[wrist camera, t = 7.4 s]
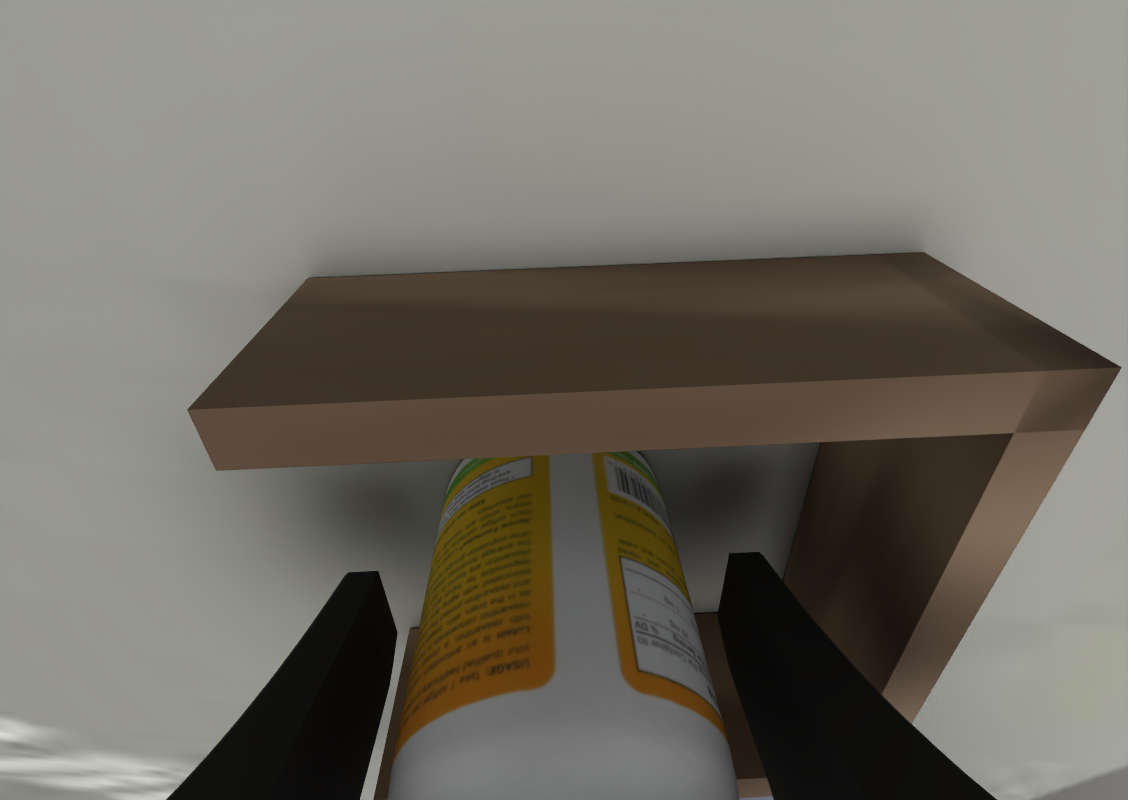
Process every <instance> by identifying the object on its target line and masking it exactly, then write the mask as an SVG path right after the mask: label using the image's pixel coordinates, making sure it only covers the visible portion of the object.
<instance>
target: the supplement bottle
mask: <svg viewBox="0 0 1128 800" xmlns="http://www.w3.org/2000/svg"><path fill="white" fill-rule="evenodd" d="M387 800H739V792H738V785H737V779H736V775H735V770H734V765H733V761H732V756H731V752H730V747H729V743H728V740H727V736H726V732H725V729H724V724H723V720H722V717H721V713H720V710H719V707H718V703H717V699H716V695H715V691H714V688H713V684H712V680H711V677H710V673H709V669H708V666H707V662H706V658H705V654H704V650H703V646H702V643H701V639H700V635H699V631H698V627H697V624H696V620H695V616H694V612H693V608H692V604H691V601H690V597H689V593H688V589H687V586H686V582H685V578H684V574H683V571H682V567H681V563H680V560H679V556H678V552H677V549H676V545H675V541H674V537H673V534H672V530H671V526H670V522H669V519H668V515H667V511H666V508H665V504H664V501H663V497H662V494H661V491H660V489H659V485H658V482H657V480H656V478H655V476H654V474H653V472H652V470H651V468H650V467H649V465H648V464H647V462H646V461H645V459H644V458H643V457H642V456H641V455H640V454H639V453H638V452H637V451H622V452H601V453H579V454H558V455H537V456H516V457H494V458H473V459H464V460H463V461H462V462H461V464H460V465H459V466H458V468H457V470H456V471H455V473H454V475H453V477H452V479H451V481H450V483H449V486H448V489H447V492H446V497H445V501H444V504H443V508H442V513H441V518H440V523H439V528H438V533H437V539H436V544H435V549H434V554H433V559H432V565H431V570H430V575H429V580H428V585H427V590H426V595H425V600H424V605H423V610H422V615H421V621H420V626H419V631H418V636H417V641H416V646H415V651H414V655H413V661H412V665H411V670H410V674H409V678H408V684H407V689H406V694H405V698H404V704H403V709H402V713H401V721H400V726H399V731H398V736H397V740H396V745H395V751H394V757H393V762H392V768H391V779H390V785H389V791H388V798H387Z"/></svg>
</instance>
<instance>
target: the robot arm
mask: <svg viewBox="0 0 1128 800" xmlns="http://www.w3.org/2000/svg"><path fill="white" fill-rule="evenodd" d="M718 621H719V625H720V630H721V635H722V639H723V644H724V648H725V652H726V657H727V661H728V665H729V669H730V672H731V675H732V678H733V681H734V684H735V687H736V689H737V692H738V695H739V698H740V701H741V704H742V707H743V710H744V713H745V716H746V719H747V722H748V725H749V728H750V730H751V733H752V736H753V739H754V742H755V745H756V748H757V751H758V754H759V757H760V759H761V762H762V765H763V768H764V771H765V774H766V777H767V780H768V783H769V786H770V789H771V793H772V796H769V797H751V798H739V800H997V799H996V798H994V797H993V796H992V795H991V794H990V793H988V792H987V791H986V790H985V789H984V788H982V787H981V786H980V785H979V784H977V783H976V782H975V781H974V780H973V779H971V778H970V777H969V776H968V775H967V774H966V773H964V772H963V771H962V770H961V769H960V768H959V767H958V766H957V765H955V764H954V763H953V762H952V761H951V760H950V759H949V758H948V757H947V756H945V755H944V754H943V753H942V752H941V751H940V750H939V749H938V748H937V747H935V746H934V745H933V744H932V743H931V742H930V741H929V740H928V739H927V738H926V737H925V736H924V735H923V734H922V733H920V732H919V731H918V730H917V729H916V728H915V727H914V726H913V725H912V724H911V723H910V722H909V721H908V720H907V719H906V718H905V717H904V716H903V715H902V714H901V713H900V712H899V711H898V710H897V709H896V708H894V707H893V706H892V704H891V703H890V702H889V701H888V700H887V699H886V698H885V697H884V696H883V695H882V694H881V693H880V692H879V691H878V690H877V689H876V688H875V687H874V686H873V685H872V684H871V683H870V682H869V681H868V680H867V679H866V678H865V677H864V675H863V674H862V673H861V672H860V671H859V670H858V669H857V668H856V667H855V666H854V665H853V664H852V663H851V661H850V660H849V659H848V658H847V657H846V656H845V655H844V654H843V653H842V652H841V650H840V649H839V648H838V647H837V646H836V645H835V643H834V642H833V641H832V640H831V639H830V638H829V637H828V635H827V634H826V633H825V632H824V631H823V630H822V629H821V627H820V626H819V625H818V624H817V623H816V622H815V620H814V619H813V618H812V617H811V616H810V614H809V613H808V612H807V611H806V610H805V608H804V607H803V606H802V605H801V603H800V602H799V601H798V600H797V598H796V597H795V596H794V595H793V594H792V592H791V591H790V590H789V588H788V587H787V586H786V585H785V583H784V582H783V581H782V580H781V578H780V577H779V576H778V574H777V573H776V572H775V571H774V569H773V568H772V567H771V565H770V564H769V563H768V561H767V560H766V559H765V558H764V556H763V555H762V554H761V553H760V552H748V553H729V558H728V563H727V569H726V574H725V579H724V584H723V590H722V595H721V600H720V605H719V611H718ZM396 640H397V629H396V626H395V623H394V620H393V617H392V613H391V610H390V607H389V604H388V601H387V597H386V594H385V591H384V588H383V585H382V581H381V578H380V575H379V572H378V571H368V572H349V573H347V574H346V575H345V576H344V578H343V579H342V580H341V582H340V583H339V585H338V586H337V588H336V589H335V591H334V592H333V594H332V595H331V597H330V598H329V600H328V601H327V603H326V604H325V605H324V607H323V608H322V610H321V611H320V613H319V614H318V616H317V617H316V618H315V620H314V621H313V623H312V624H311V626H310V627H309V628H308V630H307V631H306V633H305V634H304V635H303V637H302V638H301V640H300V641H299V642H298V644H297V645H296V646H295V648H294V649H293V650H292V652H291V653H290V654H289V656H288V657H287V658H286V660H285V661H284V662H283V664H282V665H281V666H280V668H279V669H278V670H277V672H276V673H275V674H274V676H273V677H272V678H271V680H270V681H269V682H268V683H267V685H266V686H265V687H264V688H263V690H262V691H261V692H260V693H259V695H258V696H257V697H256V698H255V700H254V701H253V702H252V703H251V705H250V706H249V707H248V708H247V709H246V711H245V712H244V713H243V714H242V716H241V717H240V718H239V719H238V721H237V722H236V723H235V724H234V725H233V727H232V728H231V729H230V730H229V731H228V732H227V734H226V735H225V736H224V737H223V738H222V739H221V741H220V742H219V743H218V744H217V745H216V746H215V747H214V749H213V750H212V751H211V752H210V753H209V754H208V755H207V757H206V758H205V759H204V760H203V761H202V762H201V763H200V764H199V765H198V766H197V767H196V769H195V770H194V771H193V772H192V773H191V774H190V775H189V776H188V777H187V778H186V780H185V781H184V782H183V783H182V784H181V785H180V786H179V787H178V788H177V789H176V790H175V791H174V792H173V793H172V794H171V795H170V796H169V797H168V798H167V799H166V800H360V796H361V793H362V789H363V785H364V781H365V778H366V774H367V770H368V766H369V762H370V759H371V755H372V751H373V747H374V744H375V740H376V736H377V732H378V728H379V725H380V721H381V717H382V713H383V709H384V705H385V702H386V698H387V694H388V690H389V686H390V680H391V674H392V668H393V661H394V654H395V647H396Z"/></svg>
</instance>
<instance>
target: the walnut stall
mask: <svg viewBox="0 0 1128 800" xmlns="http://www.w3.org/2000/svg"><path fill="white" fill-rule="evenodd" d="M1121 368H1122V367H1120V366H1118V365H1116V364H1115V363H1113V362H1111V361H1110V360H1108V359H1106V358H1104V357H1103V356H1101V355H1099V354H1098V353H1096V352H1094V351H1092V350H1091V349H1089V348H1087V347H1086V346H1084V345H1082V344H1080V343H1079V342H1077V341H1075V340H1073V339H1072V338H1070V337H1068V336H1067V335H1065V334H1063V333H1061V332H1060V331H1058V330H1056V329H1055V328H1053V327H1051V326H1049V325H1048V324H1046V323H1044V322H1043V321H1041V320H1039V319H1037V318H1036V317H1034V316H1032V315H1031V314H1029V313H1027V312H1025V311H1024V310H1022V309H1020V308H1019V307H1017V306H1015V305H1013V304H1012V303H1010V302H1008V301H1006V300H1005V299H1003V298H1001V297H1000V296H998V295H996V294H994V293H993V292H991V291H989V290H988V289H986V288H984V287H982V286H981V285H979V284H977V283H976V282H974V281H972V280H970V279H969V278H967V277H965V276H964V275H962V274H960V273H958V272H957V271H955V270H953V269H952V268H950V267H948V266H946V265H945V264H943V263H941V262H939V261H938V260H936V259H934V258H933V257H931V256H929V255H927V254H926V253H902V254H878V255H854V256H831V257H807V258H783V259H759V260H735V261H711V262H687V263H663V264H639V265H615V266H591V267H567V268H543V269H519V270H495V271H471V272H447V273H423V274H400V275H376V276H352V277H328V278H308V279H307V280H306V281H305V282H304V283H303V284H302V285H301V286H300V287H299V289H298V290H297V291H296V292H295V293H294V294H293V295H292V296H291V297H290V298H289V299H288V301H287V302H286V303H285V304H284V305H283V306H282V307H281V308H280V309H279V310H278V311H277V313H276V314H275V315H274V316H273V317H272V318H271V319H270V320H269V321H268V322H267V323H266V325H265V326H264V327H263V328H262V329H261V330H260V331H259V332H258V333H257V334H256V335H255V337H254V338H253V339H252V340H251V341H250V342H249V343H248V344H247V345H246V346H245V347H244V349H243V350H242V351H241V352H240V353H239V354H238V355H237V356H236V357H235V358H234V359H233V360H232V362H231V363H230V364H229V365H228V366H227V367H226V368H225V369H224V370H223V371H222V372H221V374H220V375H219V376H218V377H217V378H216V379H215V380H214V381H213V382H212V383H211V384H210V386H209V387H208V388H207V389H206V390H205V391H204V392H203V393H202V394H201V395H200V396H199V398H198V399H197V400H196V401H195V402H194V403H193V404H192V405H191V406H190V407H189V408H188V413H189V415H190V417H191V419H192V421H193V423H194V425H195V427H196V429H197V431H198V434H199V436H200V438H201V440H202V442H203V444H204V446H205V448H206V450H207V452H208V455H209V457H210V459H211V461H212V463H213V465H214V467H215V469H216V471H218V470H239V469H261V468H282V467H303V466H324V465H346V464H367V463H388V462H409V461H431V460H452V459H473V458H494V457H516V456H537V455H558V454H579V453H601V452H622V451H643V450H664V449H686V448H707V447H728V446H749V445H771V444H792V443H813V442H822V443H821V446H820V450H819V454H818V457H817V461H816V464H815V468H814V472H813V475H812V479H811V482H810V486H809V490H808V493H807V497H806V500H805V504H804V508H803V511H802V515H801V519H800V522H799V526H798V529H797V533H796V537H795V540H794V544H793V547H792V551H791V555H790V558H789V562H788V565H787V569H786V573H785V576H784V580H783V582H784V583H785V585H786V586H787V587H788V588H789V590H790V591H791V592H792V594H793V595H794V596H795V597H796V598H797V600H798V601H799V602H800V603H801V605H802V606H803V607H804V608H805V610H806V611H807V612H808V613H809V614H810V616H811V617H812V618H813V619H814V620H815V622H816V623H817V624H818V625H819V626H820V627H821V629H822V630H823V631H824V632H825V633H826V634H827V635H828V637H829V638H830V639H831V640H832V641H833V642H834V643H835V645H836V646H837V647H838V648H839V649H840V650H841V652H842V653H843V654H844V655H845V656H846V657H847V658H848V659H849V660H850V661H851V663H852V664H853V665H854V666H855V667H856V668H857V669H858V670H859V671H860V672H861V673H862V674H863V675H864V677H865V678H866V679H867V680H868V681H869V682H870V683H871V684H872V685H873V686H874V687H875V688H876V689H877V690H878V691H879V692H880V693H881V694H882V695H883V696H884V697H885V698H886V699H887V700H888V701H889V702H890V703H891V704H892V706H893V707H894V708H896V709H897V710H898V711H899V712H900V713H901V714H902V715H903V716H904V717H905V718H906V719H907V720H908V721H909V722H910V723H911V724H912V722H913V721H914V719H915V717H916V716H917V714H918V712H919V711H920V709H921V707H922V705H923V704H924V702H925V700H926V699H927V697H928V695H929V694H930V692H931V690H932V688H933V687H934V685H935V683H936V682H937V680H938V678H939V677H940V675H941V673H942V672H943V670H944V668H945V666H946V665H947V663H948V661H949V660H950V658H951V656H952V655H953V653H954V651H955V649H956V648H957V646H958V644H959V643H960V641H961V639H962V638H963V636H964V634H965V632H966V631H967V629H968V627H969V626H970V624H971V622H972V621H973V619H974V617H975V615H976V614H977V612H978V610H979V609H980V607H981V605H982V604H983V602H984V600H985V599H986V597H987V595H988V593H989V592H990V590H991V588H992V587H993V585H994V583H995V582H996V580H997V578H998V576H999V575H1000V573H1001V571H1002V570H1003V568H1004V566H1005V565H1006V563H1007V561H1008V559H1009V558H1010V556H1011V554H1012V553H1013V551H1014V549H1015V548H1016V546H1017V544H1018V543H1019V541H1020V539H1021V537H1022V536H1023V534H1024V532H1025V531H1026V529H1027V527H1028V526H1029V524H1030V522H1031V520H1032V519H1033V517H1034V515H1035V514H1036V512H1037V510H1038V509H1039V507H1040V505H1041V503H1042V502H1043V500H1044V498H1045V497H1046V495H1047V493H1048V492H1049V490H1050V488H1051V486H1052V485H1053V483H1054V481H1055V480H1056V478H1057V476H1058V475H1059V473H1060V471H1061V470H1062V468H1063V466H1064V464H1065V463H1066V461H1067V459H1068V458H1069V456H1070V454H1071V453H1072V451H1073V449H1074V447H1075V446H1076V444H1077V442H1078V441H1079V439H1080V437H1081V436H1082V434H1083V432H1084V430H1085V429H1086V427H1087V425H1088V424H1089V422H1090V420H1091V419H1092V417H1093V415H1094V413H1095V412H1096V410H1097V408H1098V407H1099V405H1100V403H1101V402H1102V400H1103V398H1104V397H1105V395H1106V393H1107V391H1108V390H1109V388H1110V386H1111V385H1112V383H1113V381H1114V380H1115V378H1116V376H1117V374H1118V373H1119V371H1120V369H1121ZM694 616H695V620H696V624H697V627H698V631H699V635H700V639H701V643H702V646H703V650H704V654H705V658H706V662H707V666H708V669H709V673H710V677H711V680H712V684H713V688H714V691H715V695H716V699H717V703H718V707H719V710H720V713H721V717H722V720H723V724H724V729H725V732H726V736H727V740H728V743H729V747H730V752H731V756H732V761H733V765H734V770H735V775H736V779H737V785H738V792H739V798H751V797H769V796H772V793H771V789H770V786H769V783H768V780H767V777H766V774H765V771H764V768H763V765H762V762H761V759H760V757H759V754H758V751H757V748H756V745H755V742H754V739H753V736H752V733H751V730H750V728H749V725H748V722H747V719H746V716H745V713H744V710H743V707H742V704H741V701H740V698H739V695H738V692H737V689H736V687H735V684H734V681H733V678H732V675H731V672H730V669H729V665H728V661H727V657H726V652H725V648H724V644H723V639H722V635H721V630H720V625H719V621H718V613H708V614H694ZM418 631H419V628H418V629H410V631H409V635H408V640H407V645H406V649H405V654H404V659H403V663H402V668H401V673H400V677H399V682H398V687H397V692H396V696H395V701H394V706H393V710H392V715H391V720H390V724H389V729H388V734H387V738H386V743H385V748H384V753H383V757H382V762H381V767H380V771H379V776H378V781H377V785H376V790H375V795H374V800H387V798H388V791H389V785H390V779H391V768H392V762H393V757H394V751H395V745H396V740H397V736H398V731H399V726H400V721H401V713H402V709H403V704H404V698H405V694H406V689H407V684H408V678H409V674H410V670H411V665H412V661H413V655H414V651H415V646H416V641H417V636H418Z"/></svg>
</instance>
